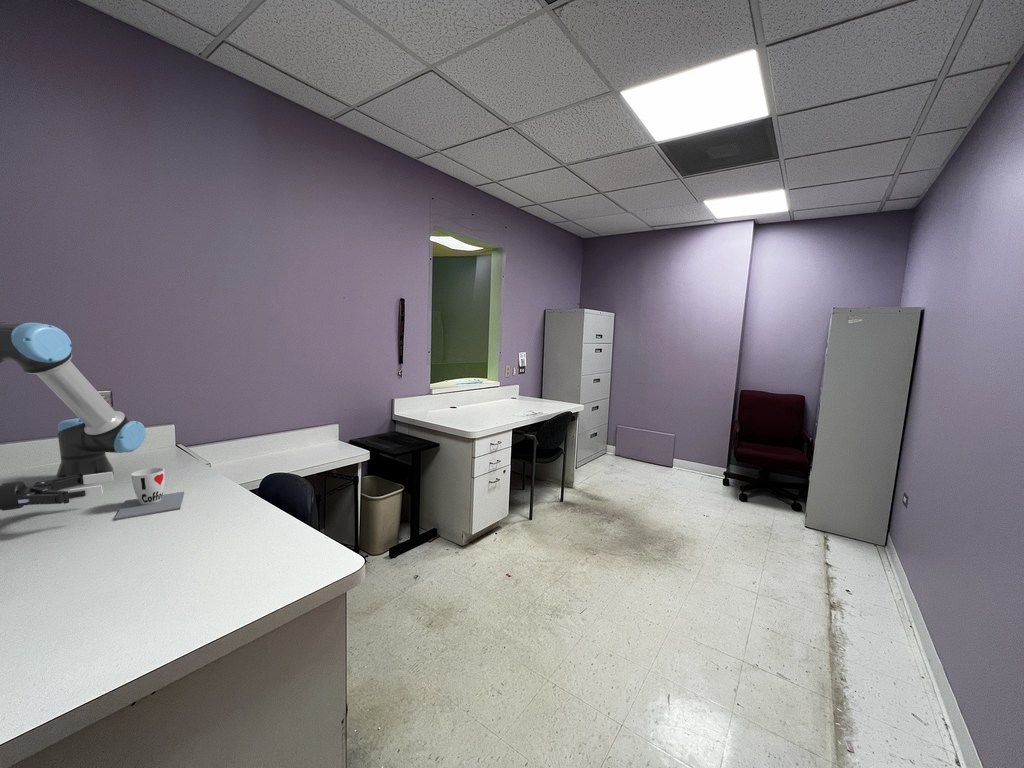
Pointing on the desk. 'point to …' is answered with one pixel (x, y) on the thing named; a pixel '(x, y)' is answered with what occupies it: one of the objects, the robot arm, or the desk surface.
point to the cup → (149, 485)
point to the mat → (150, 506)
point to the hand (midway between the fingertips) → (107, 482)
